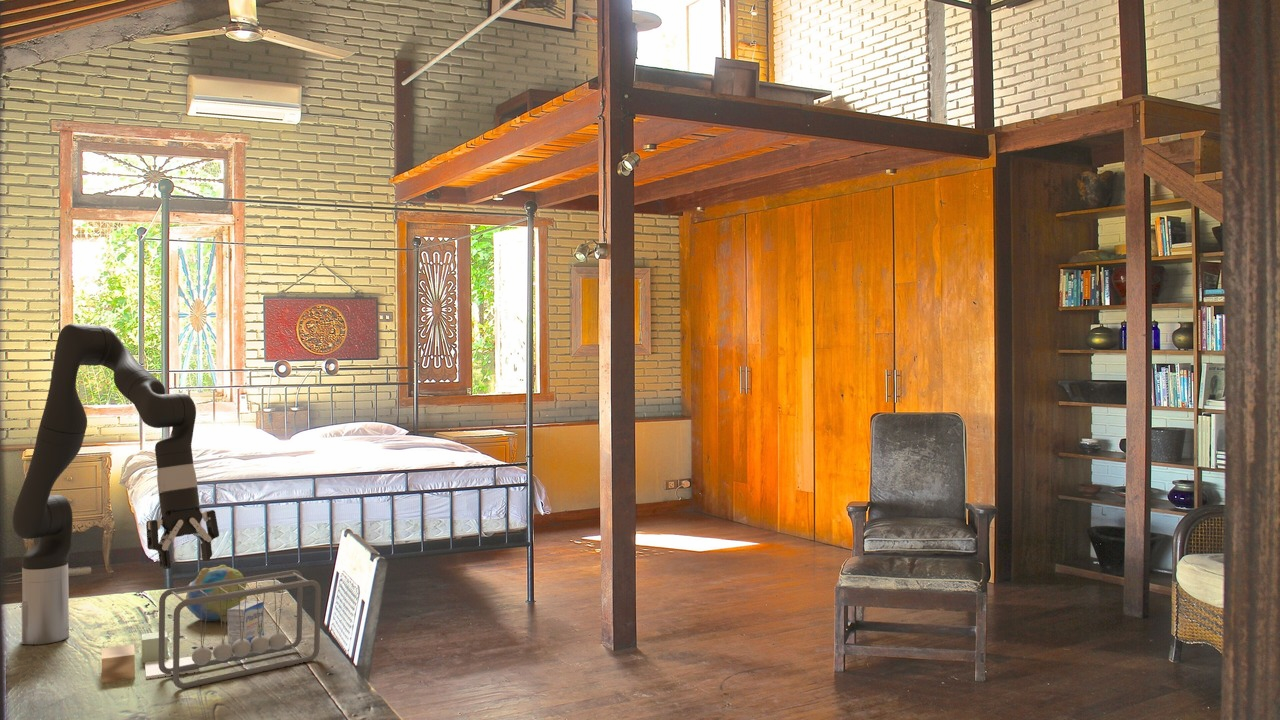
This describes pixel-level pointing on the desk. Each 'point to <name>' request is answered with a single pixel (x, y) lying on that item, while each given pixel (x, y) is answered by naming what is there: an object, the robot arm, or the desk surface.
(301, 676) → the desk surface
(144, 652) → the sage block
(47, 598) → the robot arm
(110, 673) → the oak block
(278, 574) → the newton's cradle
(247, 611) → the medicine box
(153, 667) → the board
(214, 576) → the globe ball
